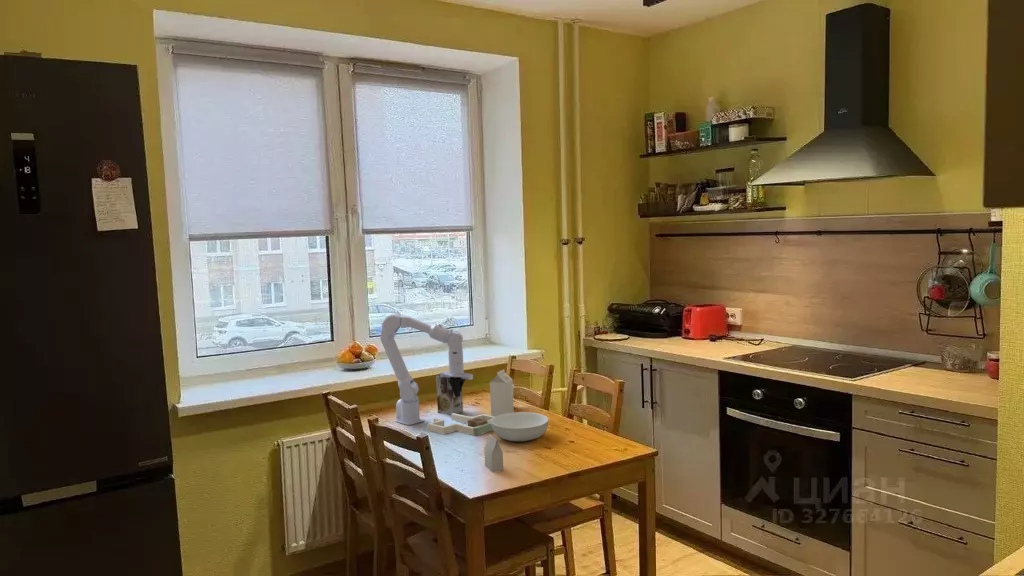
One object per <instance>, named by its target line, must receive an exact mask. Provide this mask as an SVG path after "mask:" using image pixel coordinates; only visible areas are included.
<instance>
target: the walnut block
mask: <svg viewBox="0 0 1024 576" xmlns="http://www.w3.org/2000/svg"><path fill="white" fill-rule="evenodd" d="M484 424H487V420H483V419H479V418H474V419H471V420H468V424H467V426H470V427H477V426H480V425H484Z"/></svg>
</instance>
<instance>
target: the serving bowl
mask: <svg viewBox="0 0 1024 576" xmlns="http://www.w3.org/2000/svg"><path fill="white" fill-rule="evenodd" d="M549 422H550V421H549V417H548V416H546V415H544V414H542V413H537V412H528V411H519V412H517V411H516V412H515V411H514V413H507V414H502V415H498V416H496V417H494V418H493V419H492V420H491V425H492V428H493V430H492V431H493V432H494V434H495V435H496V436H498V437H499V438H501V439H503V440H507V441H512V442H518V441H519V443H520V441H521V442H527V441H531V440H535V439H538V438H540V437H542V436H543V435H544V434H545V433H546V431H547V429H548V426H549Z"/></svg>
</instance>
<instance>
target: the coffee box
mask: <svg viewBox="0 0 1024 576" xmlns="http://www.w3.org/2000/svg"><path fill="white" fill-rule="evenodd" d="M449 379H450V378H449V377H441V374H440V373H438V374H436V375H435V382H436V383H435V385H436V401H437V413H439V414H447V415H451V414H452V413H455V414H459V412H460V413H462V411H463V412H464V408H463V407H464V405H463V388H462V389H461V394H460V396H458V397H455V396H454V392H453V389H452V387H451V385H450V383H449V382H448V380H449Z"/></svg>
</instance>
